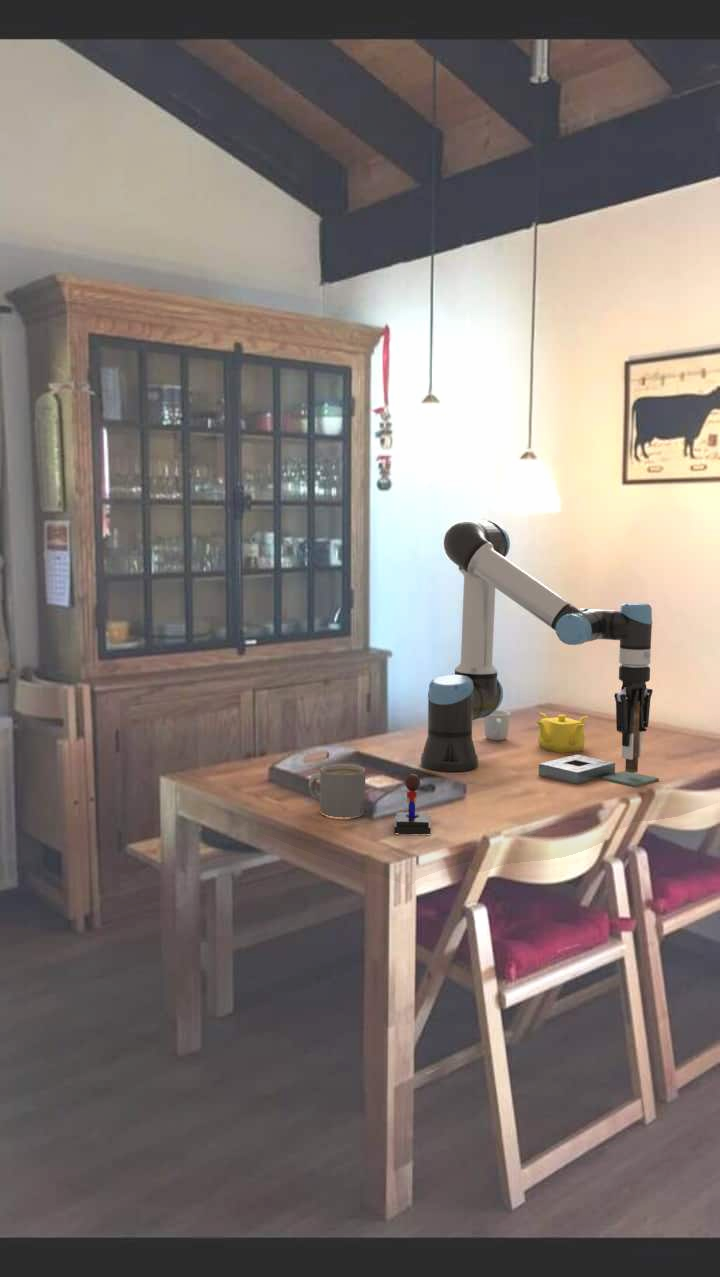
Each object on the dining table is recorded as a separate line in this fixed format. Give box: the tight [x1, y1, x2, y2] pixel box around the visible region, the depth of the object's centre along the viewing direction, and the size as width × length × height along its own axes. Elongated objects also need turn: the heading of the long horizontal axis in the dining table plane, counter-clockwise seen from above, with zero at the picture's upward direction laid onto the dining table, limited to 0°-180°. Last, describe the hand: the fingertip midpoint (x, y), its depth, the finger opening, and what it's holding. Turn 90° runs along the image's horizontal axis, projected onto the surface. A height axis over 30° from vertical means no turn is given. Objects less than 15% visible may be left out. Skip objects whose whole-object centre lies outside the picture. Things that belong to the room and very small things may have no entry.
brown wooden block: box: [624, 701, 640, 773], centre depth 261 cm, size 3×3×18 cm
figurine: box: [393, 773, 432, 835], centre depth 219 cm, size 8×8×12 cm
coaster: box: [601, 770, 660, 788], centre depth 262 cm, size 10×10×1 cm
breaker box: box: [538, 754, 616, 785], centre depth 267 cm, size 16×12×3 cm
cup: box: [483, 709, 511, 741], centre depth 308 cm, size 11×8×8 cm
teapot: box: [534, 712, 589, 754], centre depth 298 cm, size 15×14×10 cm
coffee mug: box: [308, 763, 366, 818], centre depth 232 cm, size 13×10×10 cm
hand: (631, 757), depth 262 cm, fingers closed on brown wooden block, 3 cm apart
